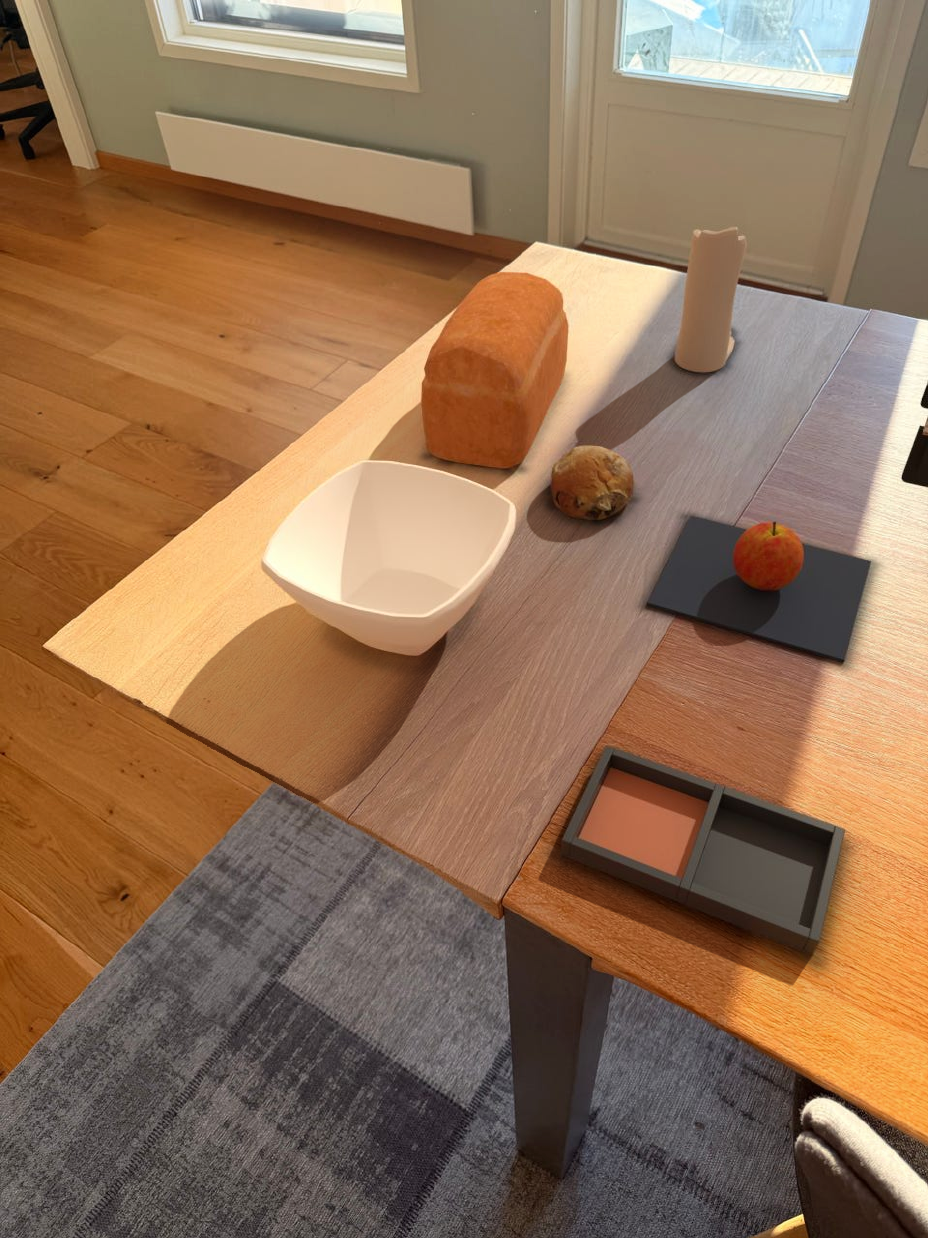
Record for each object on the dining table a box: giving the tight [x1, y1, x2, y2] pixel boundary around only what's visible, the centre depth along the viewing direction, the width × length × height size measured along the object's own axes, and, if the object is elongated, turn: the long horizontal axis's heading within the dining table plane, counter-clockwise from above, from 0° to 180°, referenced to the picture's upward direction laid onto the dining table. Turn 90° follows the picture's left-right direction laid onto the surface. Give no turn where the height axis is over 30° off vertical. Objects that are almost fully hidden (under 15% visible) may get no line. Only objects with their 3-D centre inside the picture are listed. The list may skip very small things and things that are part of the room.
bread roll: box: [550, 445, 635, 521], centre depth 108 cm, size 10×10×8 cm
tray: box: [560, 744, 846, 957], centre depth 74 cm, size 20×11×2 cm, turn 64°
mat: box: [646, 515, 872, 663], centre depth 97 cm, size 20×16×1 cm
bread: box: [420, 271, 569, 469], centre depth 118 cm, size 14×26×16 cm, turn 162°
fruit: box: [733, 521, 804, 590], centre depth 94 cm, size 7×7×8 cm
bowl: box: [260, 459, 517, 657], centre depth 92 cm, size 22×22×12 cm
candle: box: [674, 226, 747, 373], centre depth 126 cm, size 7×14×20 cm, turn 154°
